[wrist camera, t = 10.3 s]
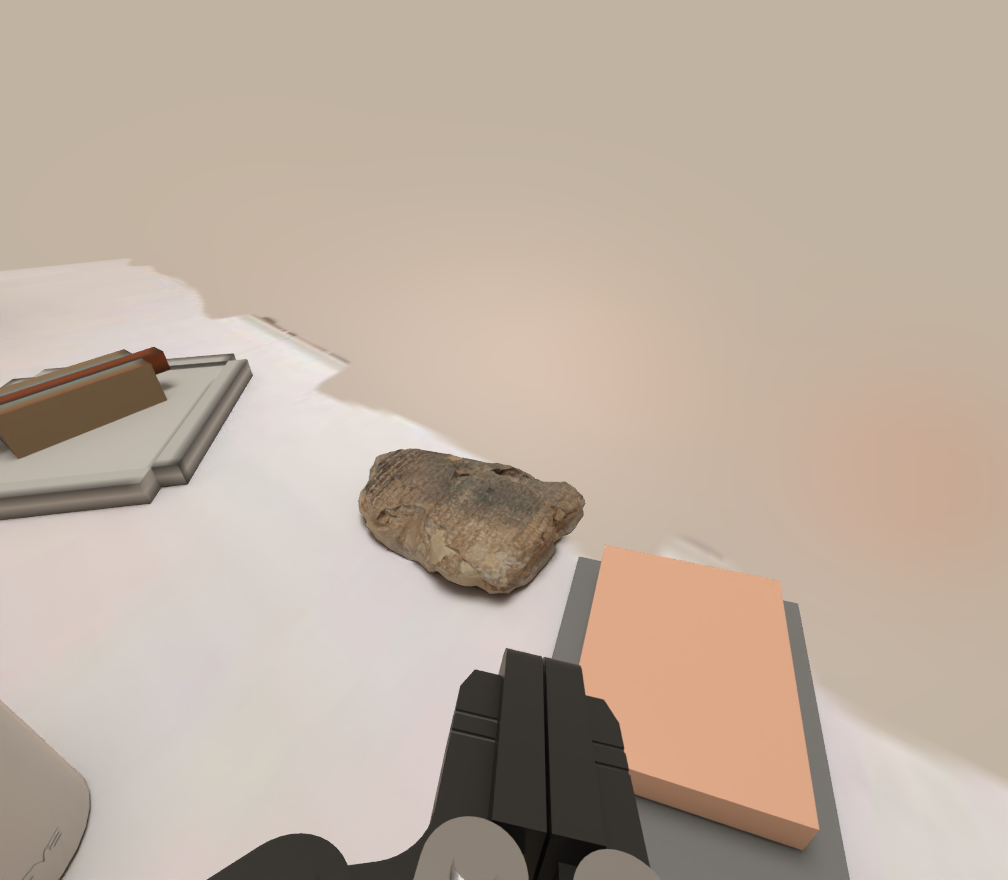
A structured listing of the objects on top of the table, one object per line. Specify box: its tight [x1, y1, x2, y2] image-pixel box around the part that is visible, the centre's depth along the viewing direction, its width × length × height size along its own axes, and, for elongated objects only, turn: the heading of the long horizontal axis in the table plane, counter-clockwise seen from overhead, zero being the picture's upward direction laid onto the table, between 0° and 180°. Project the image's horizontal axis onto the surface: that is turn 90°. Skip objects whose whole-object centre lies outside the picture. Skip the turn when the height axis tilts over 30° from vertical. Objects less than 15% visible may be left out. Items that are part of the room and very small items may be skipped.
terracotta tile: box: [579, 545, 819, 850], centre depth 31 cm, size 12×3×15 cm
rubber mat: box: [552, 557, 850, 880], centre depth 31 cm, size 16×19×1 cm
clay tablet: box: [358, 449, 585, 594], centre depth 45 cm, size 14×5×20 cm
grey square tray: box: [0, 347, 252, 520], centre depth 58 cm, size 30×30×8 cm
